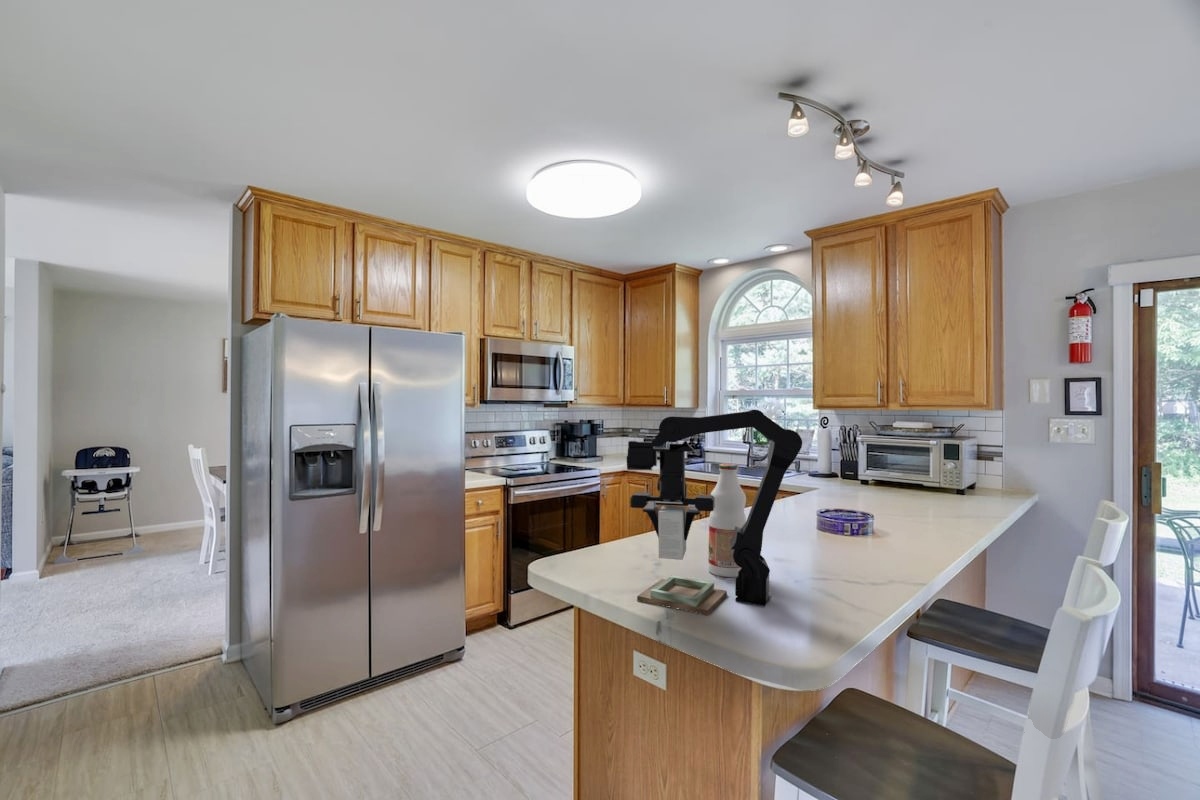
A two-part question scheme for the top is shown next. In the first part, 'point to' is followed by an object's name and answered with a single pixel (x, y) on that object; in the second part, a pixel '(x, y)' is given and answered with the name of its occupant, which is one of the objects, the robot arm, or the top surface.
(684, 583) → the board
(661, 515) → the small box
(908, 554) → the top surface
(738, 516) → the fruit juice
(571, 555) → the top surface
